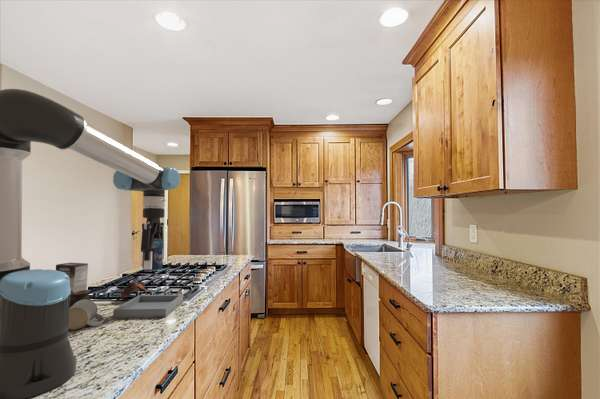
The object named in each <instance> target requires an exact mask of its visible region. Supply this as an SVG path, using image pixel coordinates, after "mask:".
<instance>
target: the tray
mask: <svg viewBox="0 0 600 399" xmlns="http://www.w3.org/2000/svg"><path fill="white" fill-rule="evenodd" d="M183 302H184V294H147V295H143V294H142V295H138V294H137V295H136V296H135V297H133V298H131V299H129V300H128V301H126V302H124V303H122V304H121V305H119V306H118V307H115V308H113V311H112V312H113V313H112V314H113V315H112V318H113V319H135V318H136V319H139V318H141V319H142V318H144V319H145V318H148V319H151V318H153V319H155V318H167V317H168V316H169V315H171V313H173V311H175V310H176V309H177V308H178V307H179V306H180V305H181V304H183Z"/></svg>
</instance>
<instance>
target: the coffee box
mask: <svg viewBox="0 0 600 399" xmlns="http://www.w3.org/2000/svg"><path fill="white" fill-rule="evenodd" d="M88 268H89V263H88V262H87V263H85V262H66V263H58V264H55V270H57V271H61V272H64V273H66V274H67V275H68V276H69V279H70V287H71V291H73V292H75V291H80V290H88V288H87V287H88V271H89V269H88ZM71 293H72V292H71ZM71 293H70V294H71ZM70 298H71V297H70Z"/></svg>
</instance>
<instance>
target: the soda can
mask: <svg viewBox="0 0 600 399" xmlns="http://www.w3.org/2000/svg"><path fill="white" fill-rule="evenodd" d="M163 242H164V241H163ZM163 242H162V240H161V238H153V243H152V248H151V252H152V269H144V252H142V263H141V264H142V269H143V271H144V272H156V271H160V270H161V269H162V268H163V264H164V263H163V262H164V261H163V259H164V258H163V256H164V255H163V254H164V253H163V252H164V248H163V247H164V246H163Z"/></svg>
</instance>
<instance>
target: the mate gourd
mask: <svg viewBox="0 0 600 399" xmlns="http://www.w3.org/2000/svg"><path fill="white" fill-rule="evenodd" d="M71 292H72V293H71V294H70V297H71V298H70V302H69V308H70V307H72V306H73V305H74V304H75V303H76V302H78V301H80V300H84V299H86V300H91V301H92V299H91V298H90V290H88V289H87V290H80V291H75V292H73V291H71Z"/></svg>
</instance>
